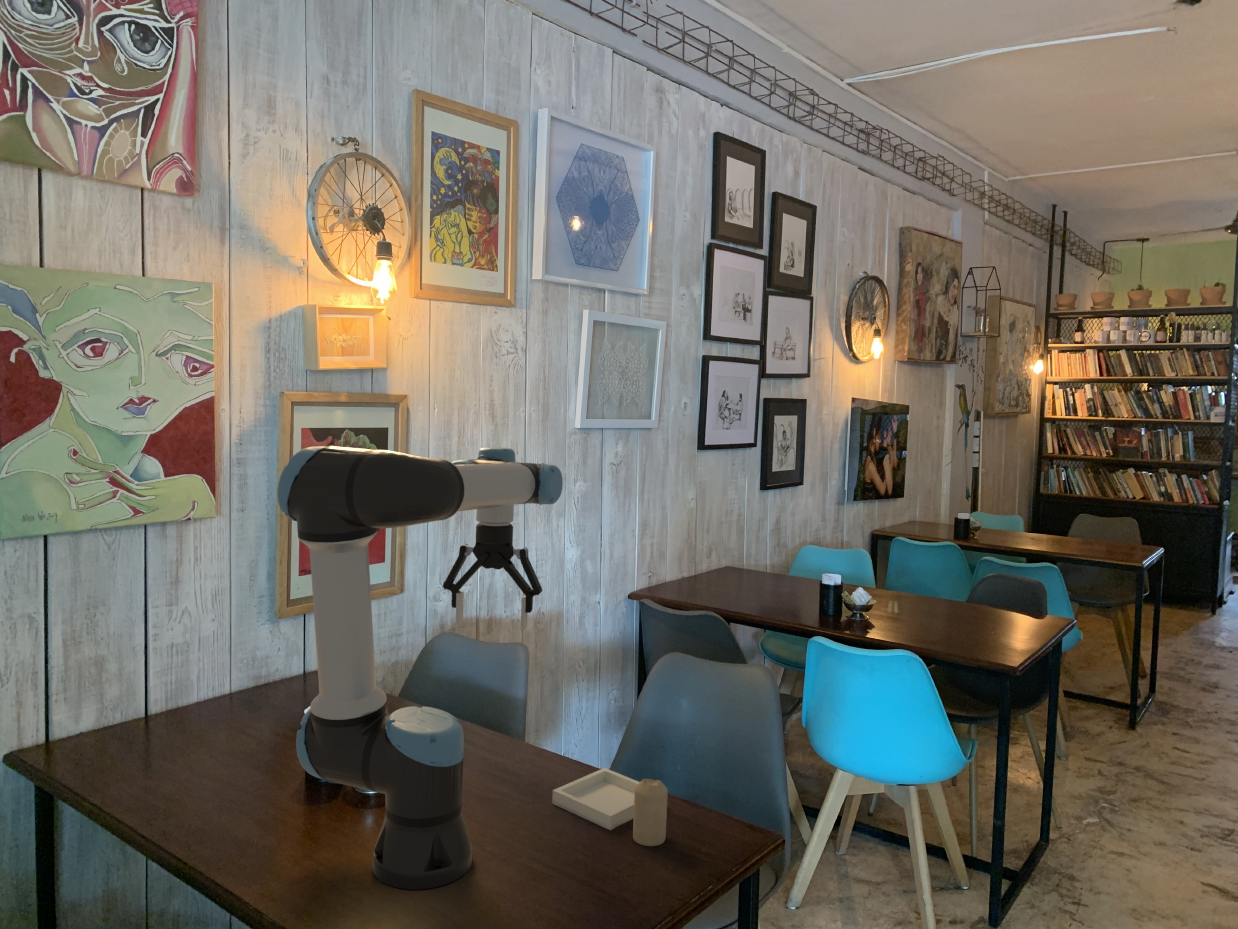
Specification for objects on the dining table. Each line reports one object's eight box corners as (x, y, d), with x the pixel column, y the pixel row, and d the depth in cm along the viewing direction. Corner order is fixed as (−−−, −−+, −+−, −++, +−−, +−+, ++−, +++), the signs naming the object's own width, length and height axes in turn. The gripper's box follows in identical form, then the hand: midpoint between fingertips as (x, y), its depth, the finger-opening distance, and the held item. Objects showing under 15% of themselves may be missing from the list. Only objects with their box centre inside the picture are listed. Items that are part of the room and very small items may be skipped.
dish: (661, 804, 161) (661, 790, 160) (610, 830, 150) (610, 816, 150) (604, 780, 170) (604, 767, 170) (552, 803, 159) (552, 790, 159)
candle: (666, 832, 150) (668, 775, 150) (664, 848, 145) (667, 789, 144) (634, 829, 151) (636, 772, 150) (631, 845, 145) (633, 786, 145)
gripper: (558, 524, 182) (554, 625, 183) (441, 517, 185) (438, 617, 186) (551, 528, 175) (547, 634, 176) (429, 521, 177) (426, 625, 179)
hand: (491, 625), depth 181 cm, fingers open, 13 cm apart
